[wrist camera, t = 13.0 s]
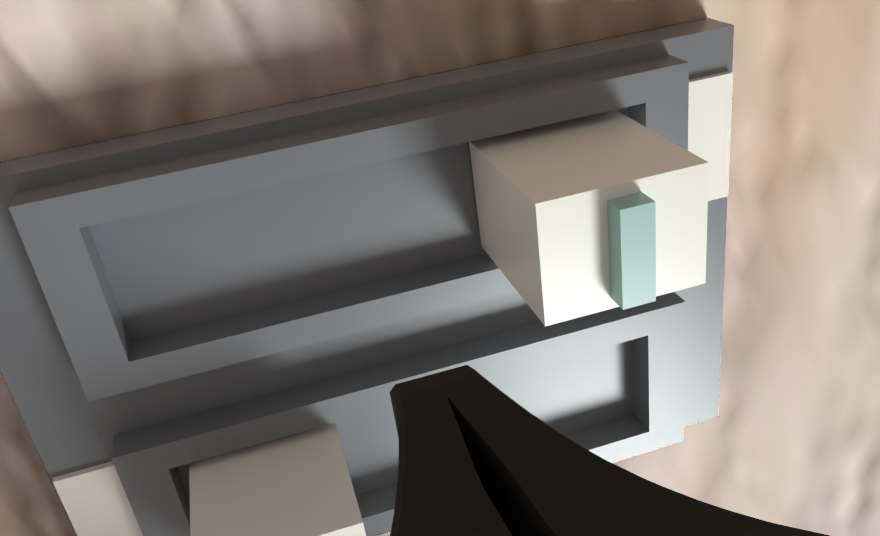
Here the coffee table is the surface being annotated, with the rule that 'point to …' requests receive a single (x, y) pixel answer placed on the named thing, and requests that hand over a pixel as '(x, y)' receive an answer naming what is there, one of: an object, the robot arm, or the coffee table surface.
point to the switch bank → (336, 280)
